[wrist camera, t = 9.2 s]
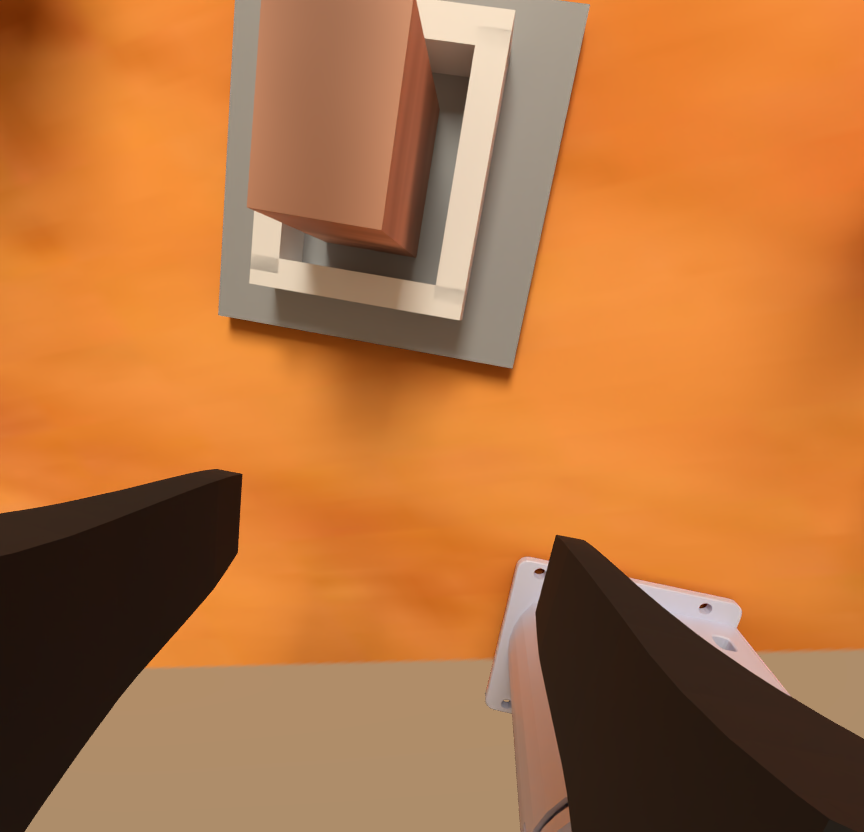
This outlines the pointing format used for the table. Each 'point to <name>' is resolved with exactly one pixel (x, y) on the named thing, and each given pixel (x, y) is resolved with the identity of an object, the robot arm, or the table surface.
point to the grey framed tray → (445, 199)
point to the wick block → (343, 121)
